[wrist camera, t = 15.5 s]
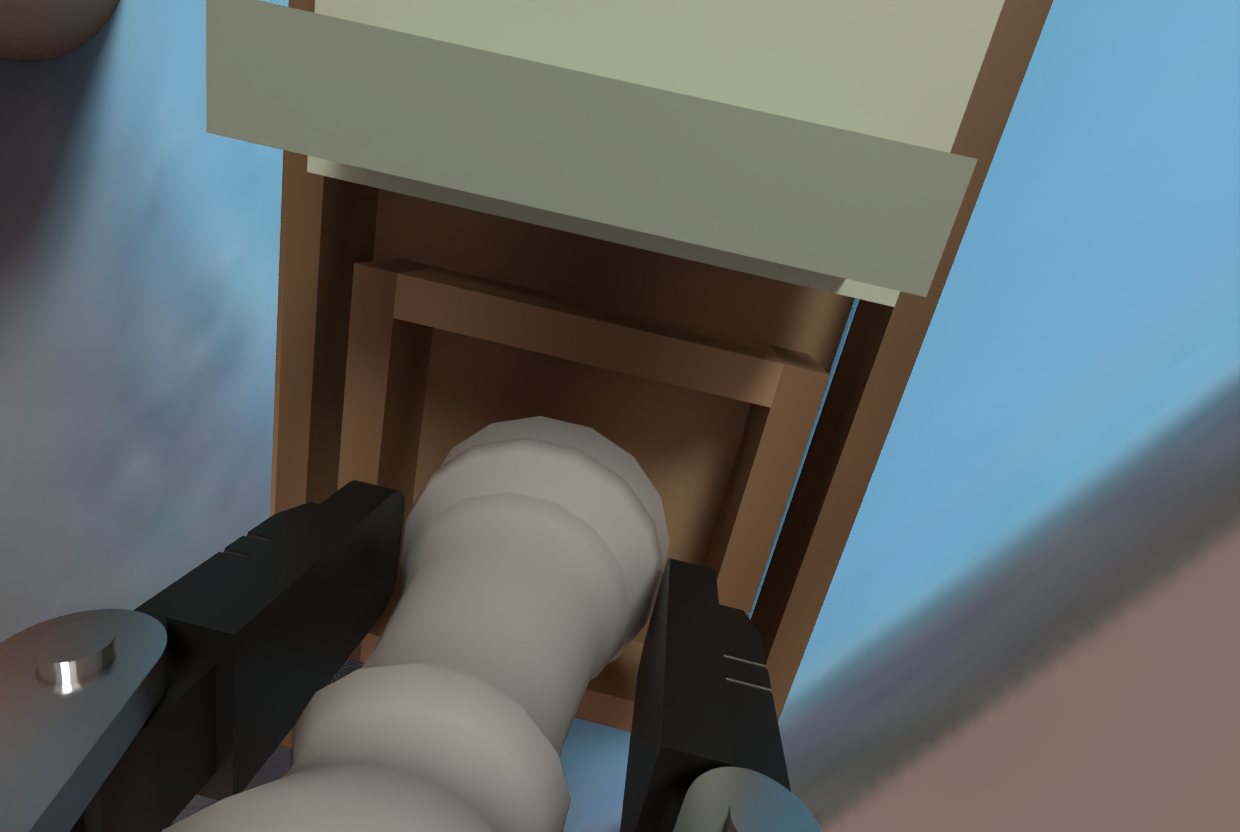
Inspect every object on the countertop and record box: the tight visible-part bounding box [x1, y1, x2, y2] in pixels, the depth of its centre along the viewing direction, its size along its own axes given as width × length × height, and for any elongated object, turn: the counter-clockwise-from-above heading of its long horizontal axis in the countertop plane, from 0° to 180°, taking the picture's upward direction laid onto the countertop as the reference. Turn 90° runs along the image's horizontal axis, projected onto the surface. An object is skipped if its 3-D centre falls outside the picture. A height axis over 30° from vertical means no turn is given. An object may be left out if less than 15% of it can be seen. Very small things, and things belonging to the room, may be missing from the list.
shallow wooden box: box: [270, 0, 1053, 732], centre depth 11 cm, size 12×20×3 cm, turn 168°
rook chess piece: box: [162, 416, 670, 832], centre depth 7 cm, size 4×4×8 cm
